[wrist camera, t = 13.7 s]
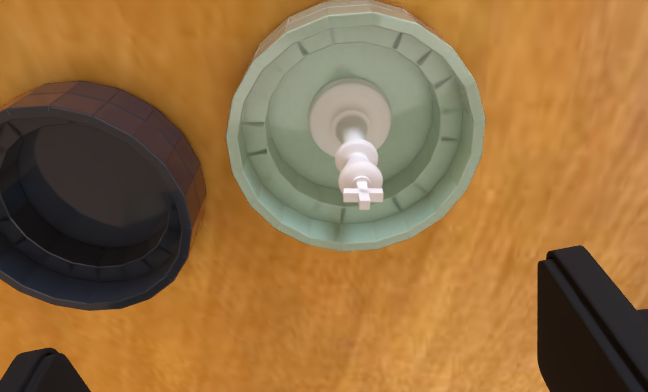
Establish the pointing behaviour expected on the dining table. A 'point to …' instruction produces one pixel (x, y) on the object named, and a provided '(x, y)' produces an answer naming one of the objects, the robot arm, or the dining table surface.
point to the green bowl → (393, 155)
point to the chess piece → (352, 135)
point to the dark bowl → (94, 196)
